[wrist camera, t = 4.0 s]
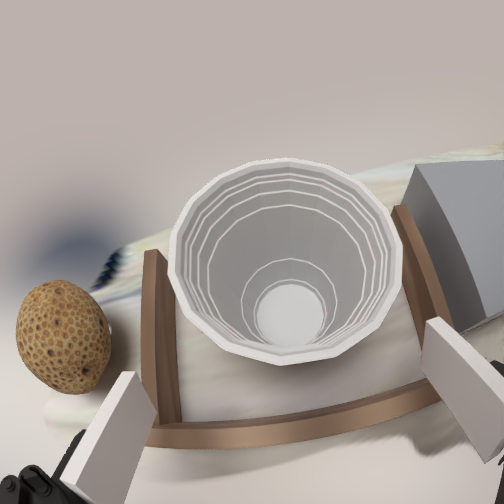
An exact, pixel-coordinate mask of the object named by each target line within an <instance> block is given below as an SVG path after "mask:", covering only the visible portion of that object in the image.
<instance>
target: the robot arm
mask: <svg viewBox="0 0 504 504" xmlns="http://www.w3.org/2000/svg"><path fill="white" fill-rule="evenodd" d="M420 369H421V371H422V372H423V373H424V375H425V376H426V377H427V379H428V380H429V381H430V383H431V384H432V386H433V387H434V388H435V390H436V391H437V393H438V394H439V395H440V397H441V398H442V400H443V401H444V402H445V404H446V405H447V407H448V408H449V410H450V411H451V413H452V414H453V416H454V417H455V418H456V420H457V421H458V423H459V424H460V426H461V427H462V429H463V431H464V432H465V434H466V435H467V437H468V438H469V440H470V441H471V443H472V444H473V446H474V448H475V449H476V451H477V452H478V454H479V456H480V457H481V459H482V461H483V462H484V464H485V463H486V462H488V461H490V460H491V459H492V458H494V457H495V456H497V455H498V454H499V453H500V452H501V450H502V449H503V448H504V364H502V363H500V362H498V361H496V360H493V361H492V362H490V363H489V362H488V361H487V360H486V359H485V358H484V357H483V356H482V355H481V354H480V353H479V352H478V351H476V350H475V349H474V348H473V347H472V346H471V345H470V344H469V343H468V342H467V341H466V340H465V339H464V338H463V337H462V336H460V335H459V334H458V333H457V332H456V331H455V330H454V329H453V328H452V327H451V326H449V325H448V324H447V323H446V322H445V321H444V320H443V319H442V318H440V317H439V316H438V317H436V318H433V319H430V320H427V321H426V324H425V334H424V342H423V349H422V356H421V362H420ZM156 414H157V411H156V409H155V407H154V406H153V404H152V402H151V400H150V398H149V396H148V395H147V393H146V391H145V389H144V387H143V385H142V383H141V381H140V379H139V377H138V375H137V373H136V371H122V373H121V374H120V376H119V377H118V379H117V381H116V382H115V384H114V385H113V387H112V389H111V390H110V392H109V394H108V395H107V397H106V398H105V400H104V402H103V403H102V405H101V407H100V408H99V410H98V412H97V413H96V415H95V417H94V418H93V420H92V422H91V424H90V425H89V427H88V429H87V430H85V429H83V430H82V431H81V432H79V433H78V434H77V435H76V436H75V437H74V439H73V441H72V442H71V444H70V447H68V449H67V451H66V454H64V456H63V458H62V460H61V461H60V463H59V465H58V467H57V468H56V470H55V472H54V474H53V476H52V477H51V478H50V477H49V476H48V475H47V474H46V473H45V472H44V471H43V470H42V469H41V468H40V467H39V466H36V465H29V466H27V467H25V468H24V469H22V471H21V472H20V474H19V476H18V478H17V477H16V476H14V475H8V476H6V477H5V478H4V479H3V480H2V481H1V484H0V504H124V501H125V499H126V496H127V493H128V490H129V487H130V484H131V482H132V479H133V476H134V473H135V470H136V468H137V465H138V462H139V459H140V457H141V454H142V451H143V449H144V446H145V443H146V441H147V438H148V435H149V433H150V430H151V427H152V425H153V422H154V420H155V417H156ZM503 461H504V455H503V457H502V458H501V460H500V461H499V463H498V465H501V463H502V462H503ZM503 465H504V464H503ZM495 504H504V467H503V472H502V477H501V481H500V486H499V489H498V493H497V497H496V501H495Z"/></svg>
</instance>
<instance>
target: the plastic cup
mask: <svg viewBox="0 0 504 504" xmlns="http://www.w3.org/2000/svg"><path fill="white" fill-rule="evenodd" d="M402 258H403V245H402V243H401V240H400V237H399V235H398V232H397V230H396V228H395V225H394V223H393V220H392V218H391V216H390V214H389V211H388V209H387V208H386V207H385V206H384V205H383V204H382V203H381V202H380V201H379V200H378V199H377V198H376V197H375V196H374V194H373V193H372V192H371V191H370V190H369V189H368V188H367V187H366V186H365V185H364V184H363V183H362V182H360V181H358V180H356V179H355V178H353V177H351V176H349V175H347V174H345V173H343V172H341V171H339V170H337V169H335V168H333V167H331V166H329V165H327V164H322V163H317V162H312V161H306V160H301V159H295V158H280V159H269V160H259V161H252V162H249V163H247V164H244V165H242V166H239V167H237V168H234V169H232V170H229V171H227V172H225V173H222V174H220V175H218V176H216V177H215V178H214V179H212V180H211V181H210V182H209V183H208V184H206V185H205V186H204V187H203V188H202V189H201V190H199V191H198V192H197V193H196V194H195V195H194V196H193V197H191V198H190V199H189V200H188V202H187V204H186V205H185V207H184V209H183V211H182V213H181V214H180V216H179V218H178V220H177V222H176V224H175V226H174V228H173V230H172V231H171V233H170V242H169V256H168V273H167V275H168V277H169V280H170V282H171V284H172V287H173V289H174V292H175V294H176V297H177V299H178V301H179V304H180V306H181V308H182V311H183V313H184V315H185V317H186V318H188V319H189V320H190V321H191V322H192V323H193V324H194V325H195V326H196V327H198V328H199V329H200V330H201V331H202V332H203V333H204V334H206V335H207V336H208V337H209V338H210V339H211V340H213V341H214V342H215V343H216V344H217V345H218V346H220V347H221V348H222V349H223V350H225V351H228V352H231V353H235V354H238V355H241V356H245V357H248V358H252V359H255V360H259V361H263V362H266V363H270V364H274V365H278V366H282V365H290V364H297V363H304V362H310V361H316V360H322V359H328V358H333V357H337V356H338V355H340V354H341V353H343V352H344V351H346V350H347V349H349V348H350V347H352V346H353V345H355V344H356V343H358V342H359V341H361V340H362V339H363V338H365V337H366V336H368V335H369V334H371V333H372V332H373V331H375V330H376V329H377V328H379V327H380V325H381V323H382V322H383V320H384V318H385V316H386V315H387V313H388V311H389V309H390V307H391V305H392V304H393V302H394V300H395V298H396V296H397V294H398V292H399V290H400V288H401V283H402Z"/></svg>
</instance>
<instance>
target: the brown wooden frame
mask: <svg viewBox="0 0 504 504" xmlns="http://www.w3.org/2000/svg"><path fill="white" fill-rule="evenodd" d="M390 216H391V218H392V220H393V223H394V225H395V228H396V230H397V232H398V235H399V237H400V240H401V243H402V245H403V258H402V283H403V286H404V289H405V292H406V295H407V299H408V302H409V305H410V308H411V312H412V315H413V319H414V322H415V326H416V330H417V334H418V337H419V341H420V346H421V350H422V349H423V342H424V334H425V324H426V321H427V320H430V319H433V318H436V317H438V316H439V317H440V318H442V319H443V320H444V321H445V322H446V323H447V324H448V325H449V326H451V327H452V328H453V329H454V326H453V323H452V319H451V316H450V313H449V309H448V306H447V303H446V300H445V297H444V294H443V291H442V288H441V285H440V282H439V280H438V277H437V274H436V271H435V269H434V266H433V264H432V261H431V259H430V256H429V254H428V251H427V249H426V246H425V244H424V242H423V239H422V237H421V235H420V233H419V230H418V228H417V226H416V224H415V222H414V220H413V218H412V215H411V213H410V211H409V209H408V207H407V205H406V204H403V205H397V206H394V208H393V210H392V213H391V215H390ZM167 273H168V261H167V260H166V259H165V258H164V256H163V255H162V254H161V253H160V252H159V250H158V249H153V250H148V251H145V252H144V265H143V279H142V299H141V379H142V385H143V387H144V389H145V391H146V393H147V395H148V396H149V398H150V400H151V402H152V404H153V406H154V407H155V409H156V411H157V414H156V417H155V420H154V422H153V425H152V427H151V430H150V433H149V435H148V438H147V441H146V443H145V446H147V447H158V448H173V449H236V448H251V447H262V446H272V445H280V444H288V443H294V442H301V441H307V440H312V439H318V438H323V437H328V436H332V435H337V434H341V433H345V432H349V431H353V430H357V429H361V428H365V427H368V426H372V425H375V424H378V423H381V422H385V421H388V420H391V419H394V418H397V417H400V416H403V415H405V414H408V413H411V412H413V411H416V410H419V409H421V408H424V407H426V406H429V405H431V404H433V403H436V402H438V401H440V400H442V398H441V397H440V395H439V394H438V393H437V391H436V390H435V388H434V387H433V386H432V384H431V383H430V381H429V380H428V379H427V378H424V379H422V380H419V381H416V382H414V383H411V384H408V385H405V386H402V387H399V388H396V389H393V390H390V391H387V392H384V393H380V394H377V395H374V396H370V397H366V398H363V399H359V400H355V401H351V402H347V403H343V404H339V405H334V406H330V407H325V408H320V409H315V410H310V411H304V412H299V413H293V414H286V415H279V416H272V417H264V418H255V419H244V420H231V421H213V422H182V420H181V410H180V399H179V386H178V371H177V354H176V329H175V292H174V289H173V287H172V284H171V282H170V280H169V277H168V275H167ZM485 359H486V358H485Z"/></svg>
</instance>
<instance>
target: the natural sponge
mask: <svg viewBox="0 0 504 504" xmlns="http://www.w3.org/2000/svg"><path fill="white" fill-rule="evenodd" d="M16 340H17V347H18V351H19V354H20V356H21V358H22V360H23V362H24V363H25V365H26V366H27V368H28V369H29V370H30V371H31V372H32V373H33V374H34V375H35V376H36V377H37V378H38V379H40V380H41V381H42V382H44V383H45V384H47V385H48V386H49V387H51V388H53V389H54V390H56V391H58V392H61V393H64V394H74V395H78V394H84V393H88V392H90V391H91V390H92V389H93V388H94V387H95V386H96V385H97V383H98V381H99V379H100V377H101V375H102V373H103V371H104V369H105V366H106V365H107V363H108V361H109V358H110V355H111V336H110V331H109V327H108V324H107V321H106V318H105V316H104V314H103V312H102V310H101V308H100V306H99V305H98V304H97V302H96V301H95V300H94V299H93V297H91V296H90V295H89V294H88V293H87V292H86V291H84V290H83V289H81V288H80V287H78V286H76V285H75V284H72V283H70V282H67V281H63V280H53V281H49V282H46V283H43V284H41V285H39V286H38V287H36V288H34V289H33V290H32V291H31V292H30V293H28V295H27V296H26V298H25V299H24V301H23V303H22V305H21V308H20V312H19V315H18V318H17V324H16Z"/></svg>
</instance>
